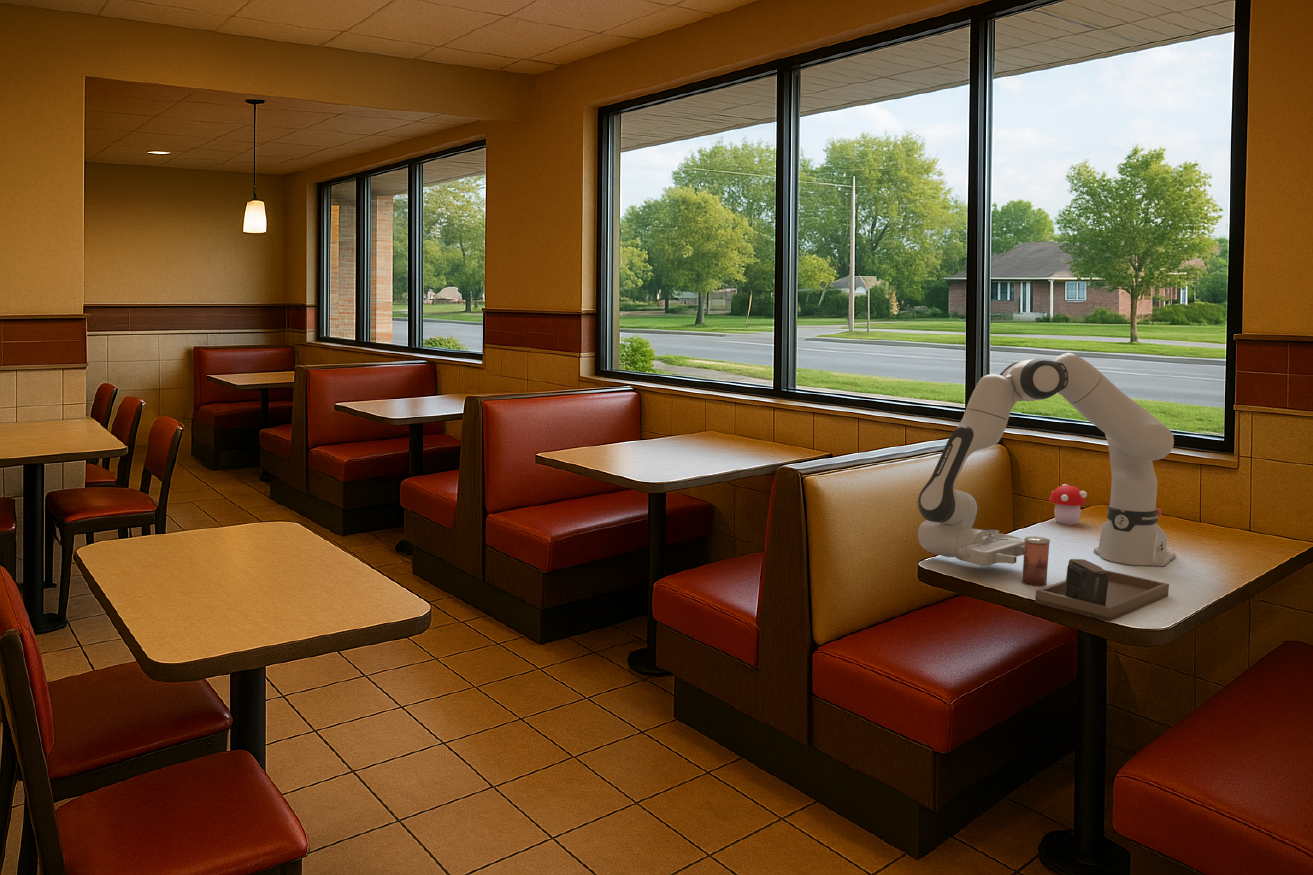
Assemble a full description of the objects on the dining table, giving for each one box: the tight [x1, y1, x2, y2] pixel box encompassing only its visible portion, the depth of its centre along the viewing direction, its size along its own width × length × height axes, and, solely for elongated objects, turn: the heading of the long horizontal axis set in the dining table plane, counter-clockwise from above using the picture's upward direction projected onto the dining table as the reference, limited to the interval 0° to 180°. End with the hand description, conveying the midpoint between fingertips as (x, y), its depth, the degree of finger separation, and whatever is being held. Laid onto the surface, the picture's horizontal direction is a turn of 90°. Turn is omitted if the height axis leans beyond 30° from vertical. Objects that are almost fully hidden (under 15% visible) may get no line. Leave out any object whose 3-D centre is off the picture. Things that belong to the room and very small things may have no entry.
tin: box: [1021, 535, 1051, 587], centre depth 238 cm, size 6×6×11 cm
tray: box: [1034, 569, 1170, 623], centre depth 226 cm, size 30×17×3 cm, turn 130°
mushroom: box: [1048, 483, 1088, 526], centre depth 306 cm, size 11×11×12 cm
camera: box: [1065, 558, 1109, 606], centre depth 220 cm, size 11×6×10 cm, turn 4°
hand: (1025, 557), depth 241 cm, fingers open, 8 cm apart
